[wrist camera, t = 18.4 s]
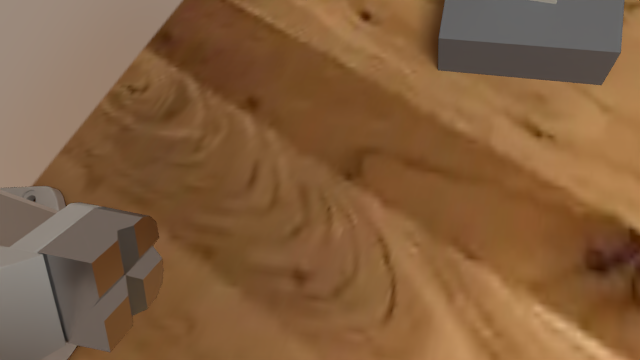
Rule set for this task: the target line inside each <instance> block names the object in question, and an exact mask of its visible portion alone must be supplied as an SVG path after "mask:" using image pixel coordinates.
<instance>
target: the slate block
mask: <svg viewBox="0 0 640 360" xmlns="http://www.w3.org/2000/svg"><path fill="white" fill-rule="evenodd" d="M623 12H624V0H557V3H556V4H552V3H545V2H538V1H532V0H445V3H444V9H443V15H442V21H441V27H440V33H439V42H438V70H441V71H452V72H463V73H474V74H485V75H496V76H507V77H518V78H529V79H540V80H551V81H562V82H572V83H583V84H594V85H602V84H603V82H604V80H605V78H606V77H607V75H608V73H609V72H610V70H611V68H612V67H613V65H614V63H615V62H616V60H617V58H618V57H619V55H620V53H621V42H622V27H623Z"/></svg>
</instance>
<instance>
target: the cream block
mask: <svg viewBox="0 0 640 360" xmlns="http://www.w3.org/2000/svg"><path fill="white" fill-rule="evenodd" d="M532 1H538V2H545V3H552V4H556V3H557V0H532Z"/></svg>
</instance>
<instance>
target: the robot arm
mask: <svg viewBox="0 0 640 360" xmlns="http://www.w3.org/2000/svg"><path fill="white" fill-rule="evenodd" d="M35 198H36V201H35V202H33V200H34V199H35ZM158 239H159V233H158V228H157V223H156V221H155V220H154V219H153V218H152V217H150V216H147V215H142V214H137V213H132V212H127V211H122V210H117V209H112V208H107V207H100V206H97V205H91V204H85V203H70V204H69V205H67V206H66V205H65V202H64V198H63V196H62V194H61V192H60V191H59V190H57V189H55V188H52V187H48V186H32V187H14V188H13V187H12V188H0V360H67V359H68V358H69V357H70V355H71V354H72V353H73V351H74V350H75V348H76V347H77V345H79V346H83V347H88V348H93V349H97V350H102V351H107V352H111V351H112V350H113V349H114V348H115V346H116V345H117V344H118V343H119V342H120V341H121V339H122V338H123V337H124V336H125V335H126V334H127V332H128V331H129V330H130V329H131V328H132V327H133V315H135V314H137V313H139V312H142V311H144V310H146V309H148V308H149V306H150V305H151V304H152V303H153V301H154V300H155V299H156V298H157V295H158V293H159V290H160V288H161V285H162V282H163V272H164V269H163V261H162V258H161V256H160V255H159V254H158V252H157V251H156V250H155V248H154V247H153V246H154V244H155V243H156V242H157V240H158Z"/></svg>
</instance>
